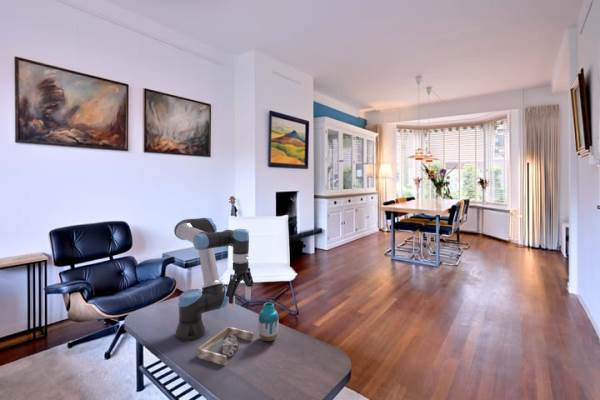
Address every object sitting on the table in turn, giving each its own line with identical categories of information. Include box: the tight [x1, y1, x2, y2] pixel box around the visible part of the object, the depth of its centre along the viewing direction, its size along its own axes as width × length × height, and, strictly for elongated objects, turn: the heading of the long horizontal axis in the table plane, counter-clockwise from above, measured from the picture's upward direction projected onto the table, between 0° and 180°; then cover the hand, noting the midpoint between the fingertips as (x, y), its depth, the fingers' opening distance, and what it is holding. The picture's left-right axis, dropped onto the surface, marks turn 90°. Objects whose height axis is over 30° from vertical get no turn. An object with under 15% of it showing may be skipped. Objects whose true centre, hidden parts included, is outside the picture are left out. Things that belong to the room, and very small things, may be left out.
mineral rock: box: [221, 335, 240, 357], centre depth 149 cm, size 15×8×4 cm, turn 175°
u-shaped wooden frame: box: [196, 325, 254, 367], centre depth 150 cm, size 16×24×4 cm
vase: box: [258, 301, 279, 342], centre depth 159 cm, size 11×11×19 cm
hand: (240, 304), depth 146 cm, fingers open, 13 cm apart
